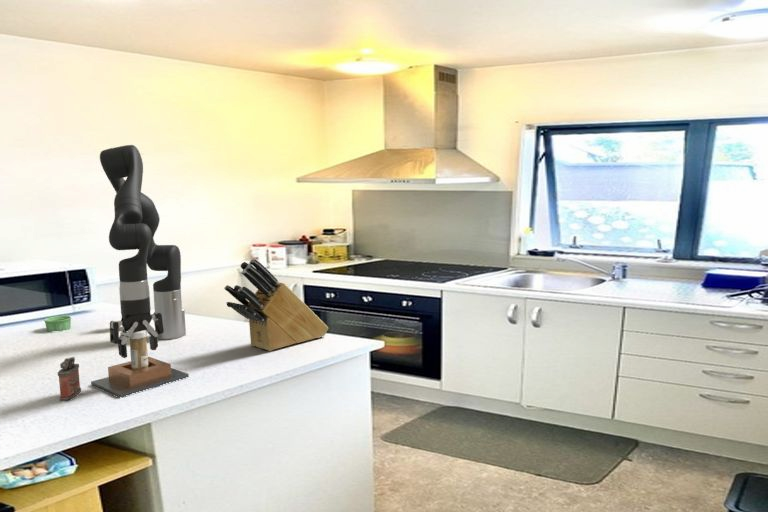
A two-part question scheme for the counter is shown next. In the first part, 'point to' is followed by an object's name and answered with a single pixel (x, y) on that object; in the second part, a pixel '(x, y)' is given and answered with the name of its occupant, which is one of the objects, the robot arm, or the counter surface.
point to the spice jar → (138, 350)
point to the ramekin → (58, 323)
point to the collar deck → (129, 391)
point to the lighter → (69, 379)
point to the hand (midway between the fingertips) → (138, 353)
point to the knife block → (274, 310)
